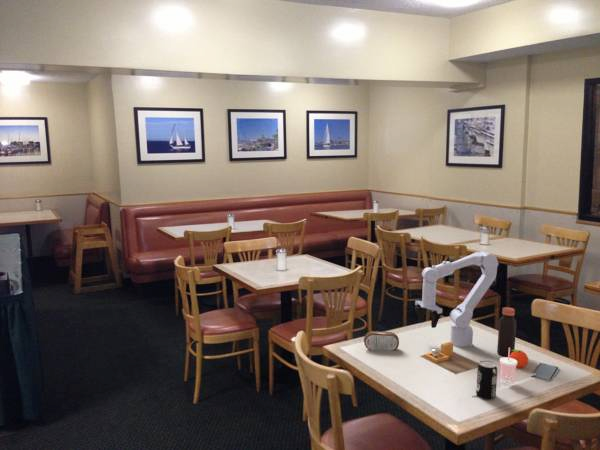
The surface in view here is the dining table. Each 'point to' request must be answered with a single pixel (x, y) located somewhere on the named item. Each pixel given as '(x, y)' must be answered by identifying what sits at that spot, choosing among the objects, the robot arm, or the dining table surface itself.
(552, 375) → the smartphone
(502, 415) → the dining table surface
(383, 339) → the tin
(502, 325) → the bottle
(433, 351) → the chrome cabinet knob
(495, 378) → the beverage can
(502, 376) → the beverage cup
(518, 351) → the clementine
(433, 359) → the orange square hoop tool
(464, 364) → the plate
